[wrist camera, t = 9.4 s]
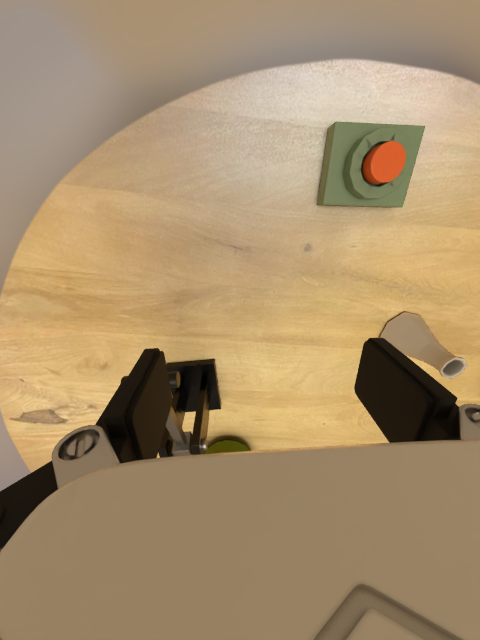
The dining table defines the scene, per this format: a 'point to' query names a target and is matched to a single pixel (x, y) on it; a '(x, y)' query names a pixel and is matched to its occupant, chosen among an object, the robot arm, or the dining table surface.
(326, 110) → the dining table surface
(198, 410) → the switch bracket
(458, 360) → the flask
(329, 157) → the button block
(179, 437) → the lever
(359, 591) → the robot arm
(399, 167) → the stop button
